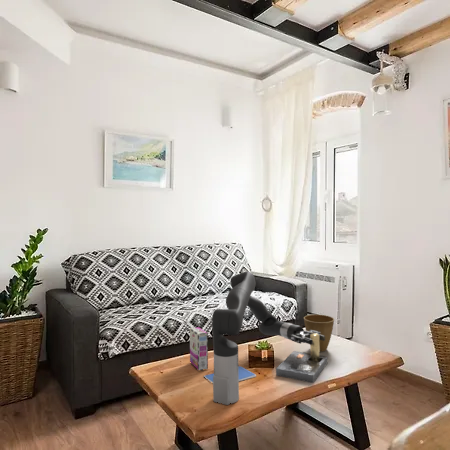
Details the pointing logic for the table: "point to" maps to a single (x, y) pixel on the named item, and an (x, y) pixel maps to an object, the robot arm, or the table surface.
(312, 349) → the barrel peg
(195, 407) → the table surface
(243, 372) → the blue notebook
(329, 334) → the plant pot
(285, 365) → the grey flat block
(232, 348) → the robot arm
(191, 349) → the candy bar box
